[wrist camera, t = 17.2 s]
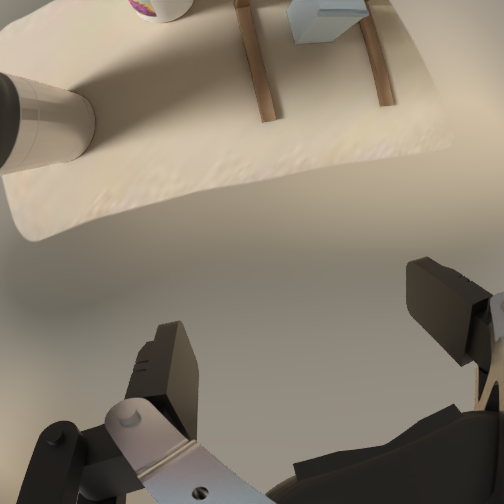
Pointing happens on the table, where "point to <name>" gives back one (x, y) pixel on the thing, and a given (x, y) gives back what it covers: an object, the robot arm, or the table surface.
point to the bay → (259, 72)
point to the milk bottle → (161, 9)
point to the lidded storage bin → (323, 19)
